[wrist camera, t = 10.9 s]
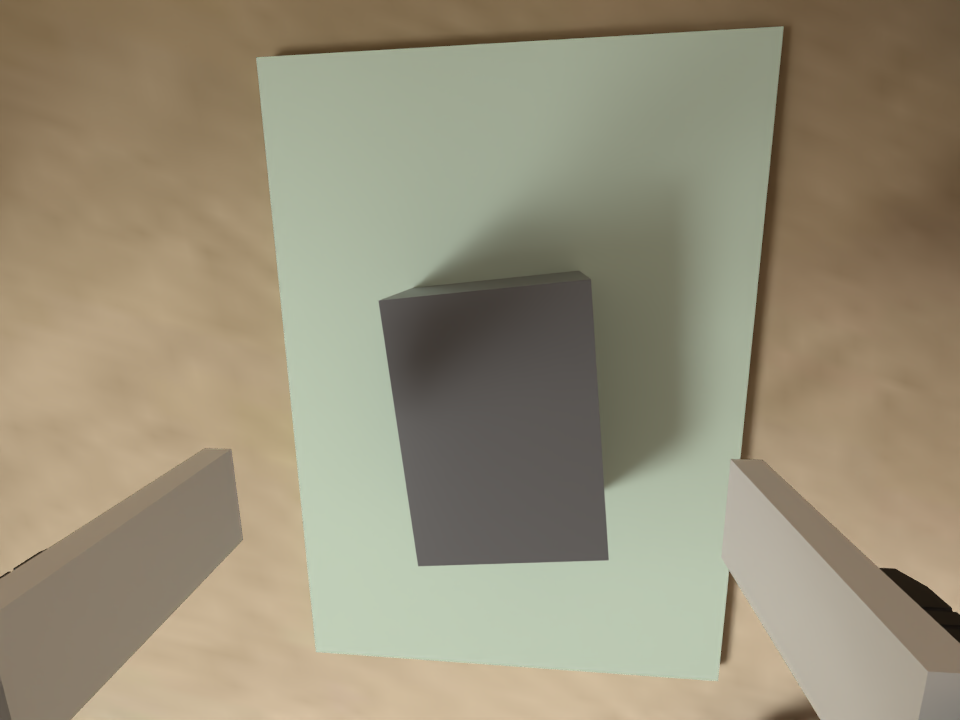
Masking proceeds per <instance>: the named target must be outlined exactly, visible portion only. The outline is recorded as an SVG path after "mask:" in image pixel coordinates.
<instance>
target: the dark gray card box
mask: <svg viewBox="0 0 960 720" xmlns="http://www.w3.org/2000/svg"><path fill="white" fill-rule="evenodd" d="M379 308H380V315H381V321H382V328H383V335H384V341H385V348H386V355H387V362H388V368H389V375H390V382H391V388H392V395H393V402H394V408H395V415H396V422H397V428H398V435H399V442H400V448H401V455H402V462H403V468H404V475H405V482H406V489H407V495H408V502H409V509H410V515H411V522H412V529H413V535H414V542H415V549H416V555H417V562H418V566H446V565H478V564H509V563H541V562H573V561H605V560H609V556H608V540H607V525H606V509H605V493H604V477H603V461H602V446H601V430H600V414H599V398H598V382H597V367H596V351H595V335H594V319H593V303H592V288H591V279H590V278H589V277H587V276H586V275H584V274H583V273H582V272H580V271H570V272H561V273H551V274H541V275H531V276H522V277H512V278H502V279H493V280H483V281H473V282H463V283H454V284H444V285H434V286H425V287H415V288H411V289H408V290H406V291H403V292H400V293H398V294H395V295H392V296H389V297H387V298H384V299H381V300H379Z"/></svg>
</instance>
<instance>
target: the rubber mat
mask: <svg viewBox="0 0 960 720" xmlns="http://www.w3.org/2000/svg"><path fill="white" fill-rule="evenodd" d="M783 29H784V26H780V27H763V28H746V29H729V30H712V31H695V32H678V33H661V34H644V35H627V36H610V37H593V38H576V39H559V40H542V41H525V42H508V43H491V44H474V45H457V46H440V47H423V48H406V49H389V50H372V51H355V52H338V53H321V54H304V55H287V56H270V57H256V60H257V70H258V80H259V90H260V100H261V110H262V120H263V130H264V140H265V150H266V160H267V170H268V180H269V189H270V199H271V209H272V219H273V229H274V239H275V249H276V259H277V269H278V279H279V289H280V299H281V309H282V319H283V329H284V338H285V348H286V358H287V368H288V378H289V388H290V398H291V408H292V418H293V428H294V438H295V448H296V458H297V468H298V478H299V487H300V497H301V507H302V517H303V527H304V537H305V547H306V557H307V567H308V577H309V587H310V597H311V607H312V617H313V627H314V636H315V646H316V652H323V653H337V654H351V655H365V656H378V657H392V658H406V659H420V660H433V661H447V662H461V663H475V664H489V665H502V666H516V667H530V668H544V669H557V670H571V671H585V672H599V673H613V674H626V675H640V676H654V677H668V678H681V679H695V680H709V681H718V676H719V666H720V657H721V647H722V637H723V627H724V617H725V607H726V597H727V587H728V577H729V569H728V568H727V566H726V564H725V563H724V561H723V560H722V558H721V555H722V544H723V534H724V523H725V513H726V503H727V492H728V482H729V471H730V461H731V459H740V457H741V447H742V437H743V427H744V417H745V407H746V398H747V388H748V378H749V368H750V358H751V348H752V338H753V328H754V318H755V308H756V298H757V288H758V278H759V268H760V258H761V248H762V238H763V228H764V218H765V208H766V198H767V188H768V178H769V168H770V158H771V148H772V139H773V129H774V119H775V109H776V99H777V89H778V79H779V69H780V59H781V49H782V39H783ZM570 271H580V272H582V273H583V274H584V275H586V276H587V277H589V278H590V279H591V288H592V303H593V319H594V335H595V351H596V367H597V382H598V398H599V414H600V430H601V446H602V461H603V477H604V493H605V509H606V525H607V540H608V556H609V560H605V561H573V562H541V563H509V564H478V565H446V566H418V562H417V555H416V549H415V542H414V535H413V529H412V522H411V515H410V509H409V502H408V495H407V489H406V482H405V475H404V468H403V462H402V455H401V448H400V442H399V435H398V428H397V422H396V415H395V408H394V402H393V395H392V388H391V382H390V375H389V368H388V362H387V355H386V348H385V341H384V335H383V328H382V321H381V315H380V308H379V300H381V299H384V298H387V297H389V296H392V295H395V294H398V293H400V292H403V291H406V290H408V289H411V288H415V287H425V286H434V285H444V284H454V283H463V282H473V281H483V280H493V279H502V278H512V277H522V276H531V275H541V274H551V273H561V272H570Z"/></svg>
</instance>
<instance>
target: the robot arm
mask: <svg viewBox="0 0 960 720" xmlns="http://www.w3.org/2000/svg"><path fill="white" fill-rule="evenodd" d="M242 540H243V536H242V528H241V520H240V513H239V505H238V497H237V489H236V482H235V474H234V466H233V458H232V451H231V449H212V448H204V449H203V450H201V451H200V452H198V453H197V454H195V455H194V456H192V457H190V458H189V459H187V460H186V461H184V462H183V463H181V464H179V465H178V466H176V467H175V468H173V469H172V470H170V471H168V472H167V473H165V474H164V475H162V476H161V477H159V478H157V479H156V480H154V481H153V482H151V483H150V484H148V485H147V486H145V487H143V488H142V489H140V490H139V491H137V492H136V493H134V494H132V495H131V496H129V497H128V498H126V499H125V500H123V501H121V502H120V503H118V504H117V505H115V506H114V507H112V508H111V509H109V510H107V511H106V512H104V513H103V514H101V515H100V516H98V517H96V518H95V519H93V520H92V521H90V522H89V523H87V524H85V525H84V526H82V527H81V528H79V529H78V530H76V531H75V532H73V533H71V534H70V535H68V536H67V537H65V538H64V539H62V540H60V541H59V542H57V543H56V544H54V545H53V546H51V547H49V548H48V549H45V550H43V551H41V552H39V553H37V554H36V555H34V556H32V557H31V558H29V559H28V560H26V561H25V562H23V563H21V564H20V565H18V566H17V567H15V568H14V570H13V571H12V572H7V573H6V574H4V575H2V576H1V577H0V720H71V719H72V718H73V717H74V716H75V715H76V714H77V712H78V711H79V710H80V709H81V708H82V707H83V706H84V705H85V704H86V703H87V702H88V701H89V700H90V699H91V698H92V697H93V696H94V695H95V694H96V693H97V692H98V691H99V689H100V688H101V687H102V686H103V685H104V684H105V683H106V682H107V681H108V680H109V679H110V678H111V677H112V676H113V675H114V674H115V673H116V672H117V671H118V670H119V669H120V668H121V667H122V665H123V664H124V663H125V662H126V661H127V660H128V659H129V658H130V657H131V656H132V655H133V654H134V653H135V652H136V651H137V650H138V649H139V648H140V647H141V646H142V645H143V644H144V643H145V641H146V640H147V639H148V638H149V637H150V636H151V635H152V634H153V633H154V632H155V631H156V630H157V629H158V628H159V627H160V626H161V625H162V624H163V623H164V622H165V621H166V620H167V618H168V617H169V616H170V615H171V614H172V613H173V612H174V611H175V610H176V609H177V608H178V607H179V606H180V605H181V604H182V603H183V602H184V601H185V600H186V599H187V598H188V597H189V596H190V594H191V593H192V592H193V591H194V590H195V589H196V588H197V587H198V586H199V585H200V584H201V583H202V582H203V581H204V580H205V579H206V578H207V577H208V576H209V575H210V574H211V573H212V572H213V570H214V569H215V568H216V567H217V566H218V565H219V564H220V563H221V562H222V561H223V560H224V559H225V558H226V557H227V556H228V555H229V554H230V553H231V552H232V551H233V550H234V549H235V547H236V546H237V545H238V544H239V543H240V542H241V541H242ZM721 558H722V560H723V561H724V563H725V564H726V566H727V568H728V569H729V571H730V573H731V574H732V576H733V578H734V579H735V581H736V582H737V584H738V586H739V587H740V589H741V591H742V592H743V594H744V596H745V597H746V599H747V600H748V602H749V604H750V605H751V607H752V609H753V610H754V612H755V614H756V615H757V617H758V618H759V620H760V622H761V623H762V625H763V627H764V628H765V630H766V632H767V633H768V635H769V636H770V638H771V640H772V641H773V643H774V645H775V646H776V648H777V650H778V651H779V653H780V654H781V656H782V658H783V659H784V661H785V663H786V664H787V666H788V668H789V669H790V671H791V672H792V674H793V676H794V677H795V679H796V681H797V682H798V684H799V686H800V687H801V689H802V691H803V692H804V694H805V695H806V697H807V699H808V700H809V702H810V704H811V705H812V707H813V709H814V710H815V712H816V713H817V715H818V717H819V718H820V720H960V615H959V614H958V613H957V612H953V611H952V608H951V607H950V606H949V605H948V604H947V603H945V602H944V601H943V600H942V599H941V598H940V597H938V596H937V595H936V594H935V593H934V592H933V591H932V590H930V589H929V588H928V587H927V586H925V585H923V584H921V583H920V582H918V581H916V580H914V579H913V578H911V577H909V576H907V575H905V574H904V573H902V572H900V571H898V570H897V569H891V568H878V567H877V566H876V565H875V564H874V563H873V562H872V561H871V560H870V559H869V558H868V557H866V556H865V555H864V554H863V553H862V552H861V551H860V550H859V549H858V548H857V547H856V546H855V545H854V544H853V543H851V542H850V541H849V540H848V539H847V538H846V537H845V536H844V535H843V534H842V533H841V532H840V531H839V530H837V529H836V528H835V527H834V526H833V525H832V524H831V523H830V522H829V521H828V520H827V519H826V518H825V517H824V516H822V515H821V514H820V513H819V512H818V511H817V510H816V509H815V508H814V507H813V506H812V505H811V504H810V503H808V502H807V501H806V500H805V499H804V498H803V497H802V496H801V495H800V494H799V493H798V492H797V491H796V490H795V489H793V488H792V487H791V486H790V485H789V484H788V483H787V482H786V481H785V480H784V479H783V478H782V477H781V476H779V475H778V474H777V473H776V472H775V471H774V470H773V469H772V468H771V467H770V466H769V465H768V464H767V463H766V462H764V461H763V460H748V459H731V461H730V471H729V482H728V492H727V503H726V513H725V523H724V534H723V544H722V555H721Z"/></svg>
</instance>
